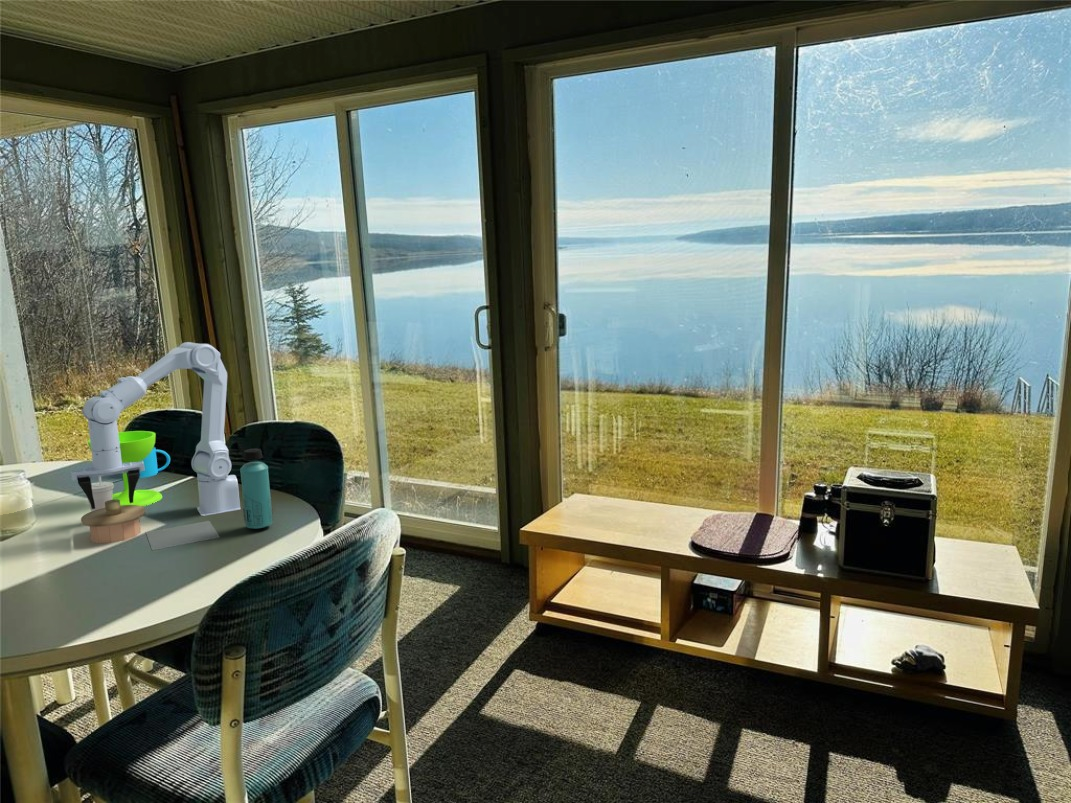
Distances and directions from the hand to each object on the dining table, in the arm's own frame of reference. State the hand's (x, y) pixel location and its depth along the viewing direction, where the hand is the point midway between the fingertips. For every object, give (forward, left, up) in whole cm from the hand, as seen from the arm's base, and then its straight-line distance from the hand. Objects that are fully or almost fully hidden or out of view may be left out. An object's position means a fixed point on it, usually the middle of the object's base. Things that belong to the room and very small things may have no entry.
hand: (112, 504), depth 166 cm
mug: (-13, -59, -8) cm, 61 cm away
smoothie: (+2, -14, -8) cm, 16 cm away
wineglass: (-5, -30, -8) cm, 31 cm away
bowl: (0, 0, -8) cm, 8 cm away
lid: (0, 0, -3) cm, 3 cm away
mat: (-13, +9, -8) cm, 18 cm away
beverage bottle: (-29, +15, -8) cm, 34 cm away
